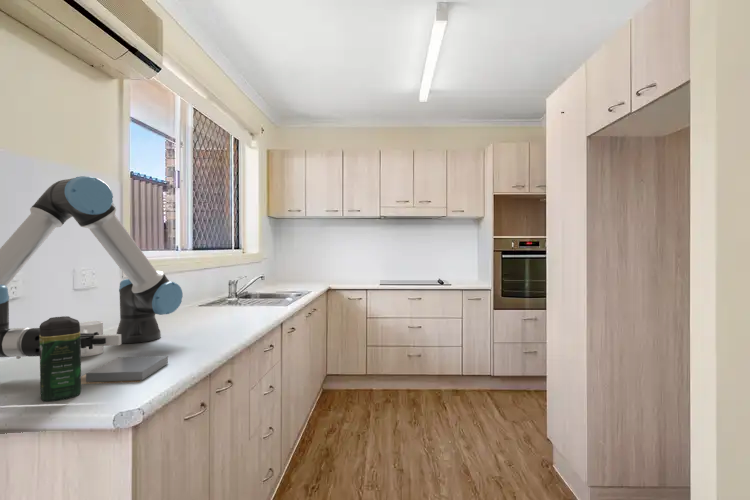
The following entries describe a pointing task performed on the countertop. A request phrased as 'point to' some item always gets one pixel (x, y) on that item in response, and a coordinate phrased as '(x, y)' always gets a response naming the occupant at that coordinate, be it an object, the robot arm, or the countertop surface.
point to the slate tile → (127, 369)
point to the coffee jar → (60, 358)
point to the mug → (91, 328)
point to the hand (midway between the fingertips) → (119, 339)
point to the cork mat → (83, 381)
